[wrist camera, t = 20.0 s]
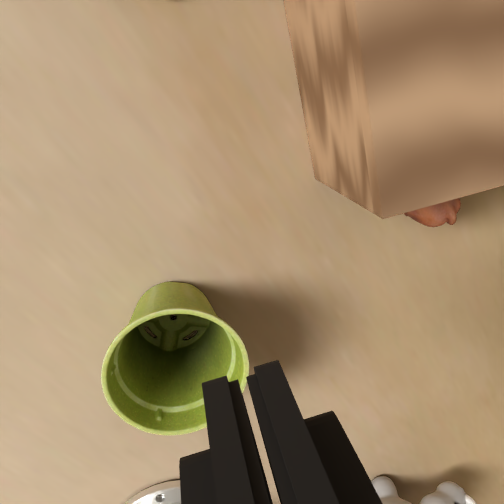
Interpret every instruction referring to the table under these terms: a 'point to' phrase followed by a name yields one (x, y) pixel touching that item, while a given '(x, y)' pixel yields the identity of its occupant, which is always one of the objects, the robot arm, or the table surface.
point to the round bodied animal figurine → (442, 500)
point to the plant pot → (170, 361)
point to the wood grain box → (402, 97)
